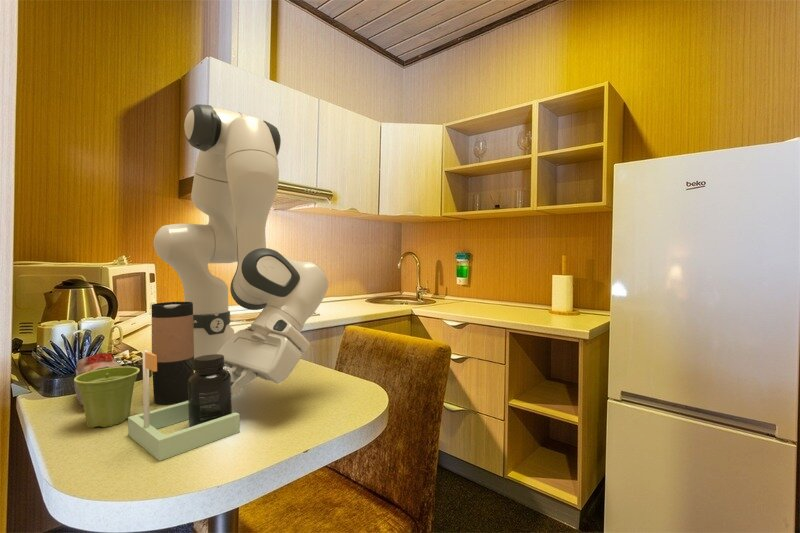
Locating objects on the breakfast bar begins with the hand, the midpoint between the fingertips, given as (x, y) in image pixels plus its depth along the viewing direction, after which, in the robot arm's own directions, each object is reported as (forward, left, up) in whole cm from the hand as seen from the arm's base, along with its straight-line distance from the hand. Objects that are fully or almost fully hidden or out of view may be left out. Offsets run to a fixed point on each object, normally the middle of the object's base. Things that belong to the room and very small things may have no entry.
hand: (228, 392), depth 70 cm
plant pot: (-16, -14, -5) cm, 22 cm away
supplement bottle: (0, -3, -5) cm, 6 cm away
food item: (-31, -12, -5) cm, 33 cm away
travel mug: (-19, -2, -5) cm, 20 cm away
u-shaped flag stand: (0, -7, -5) cm, 8 cm away
